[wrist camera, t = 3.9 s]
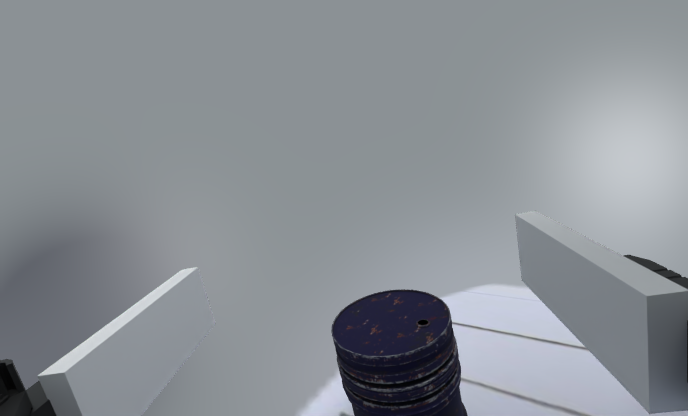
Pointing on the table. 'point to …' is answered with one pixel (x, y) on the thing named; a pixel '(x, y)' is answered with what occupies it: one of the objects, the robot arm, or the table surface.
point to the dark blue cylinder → (399, 355)
